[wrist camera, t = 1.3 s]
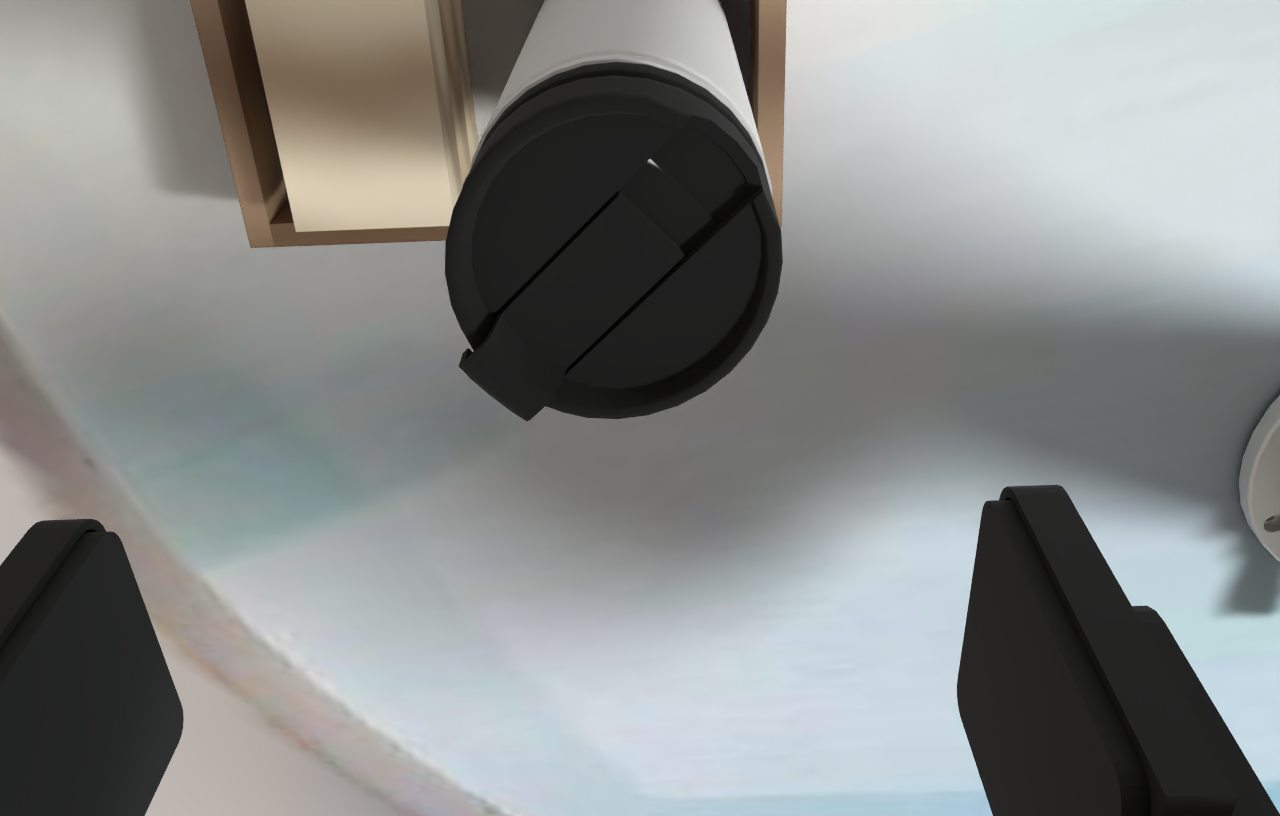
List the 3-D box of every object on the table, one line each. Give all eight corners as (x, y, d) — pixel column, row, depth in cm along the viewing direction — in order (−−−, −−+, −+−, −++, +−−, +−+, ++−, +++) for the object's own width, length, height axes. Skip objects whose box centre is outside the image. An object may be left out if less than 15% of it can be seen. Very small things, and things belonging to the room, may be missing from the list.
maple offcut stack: (481, 164, 39) (455, 225, 34) (343, 169, 39) (295, 232, 34) (450, -86, 35) (415, -60, 30) (295, -79, 35) (233, -51, 30)
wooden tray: (770, 186, 39) (781, 227, 36) (285, 205, 40) (250, 247, 36) (775, -144, 34) (789, -133, 30) (214, -117, 34) (165, -102, 31)
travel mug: (494, 44, 37) (353, 296, 19) (631, -110, 34) (608, 23, 17) (627, 171, 39) (606, 497, 22) (765, 35, 36) (864, 282, 19)
